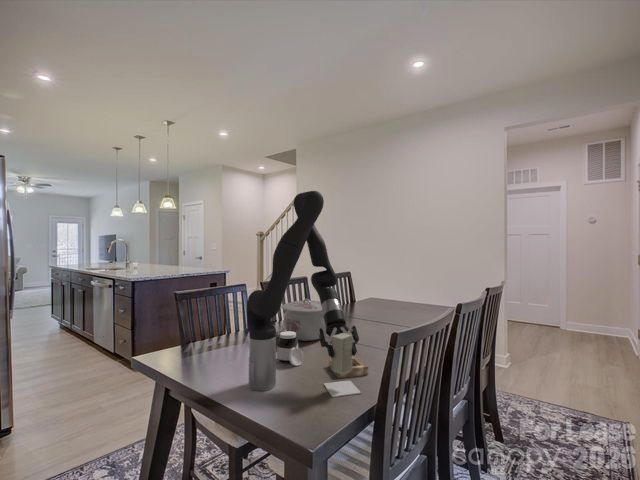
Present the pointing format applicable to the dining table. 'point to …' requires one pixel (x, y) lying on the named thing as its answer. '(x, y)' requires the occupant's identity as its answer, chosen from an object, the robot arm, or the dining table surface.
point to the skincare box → (342, 353)
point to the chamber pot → (304, 319)
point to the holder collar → (353, 368)
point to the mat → (341, 388)
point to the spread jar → (289, 349)
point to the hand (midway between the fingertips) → (343, 355)
